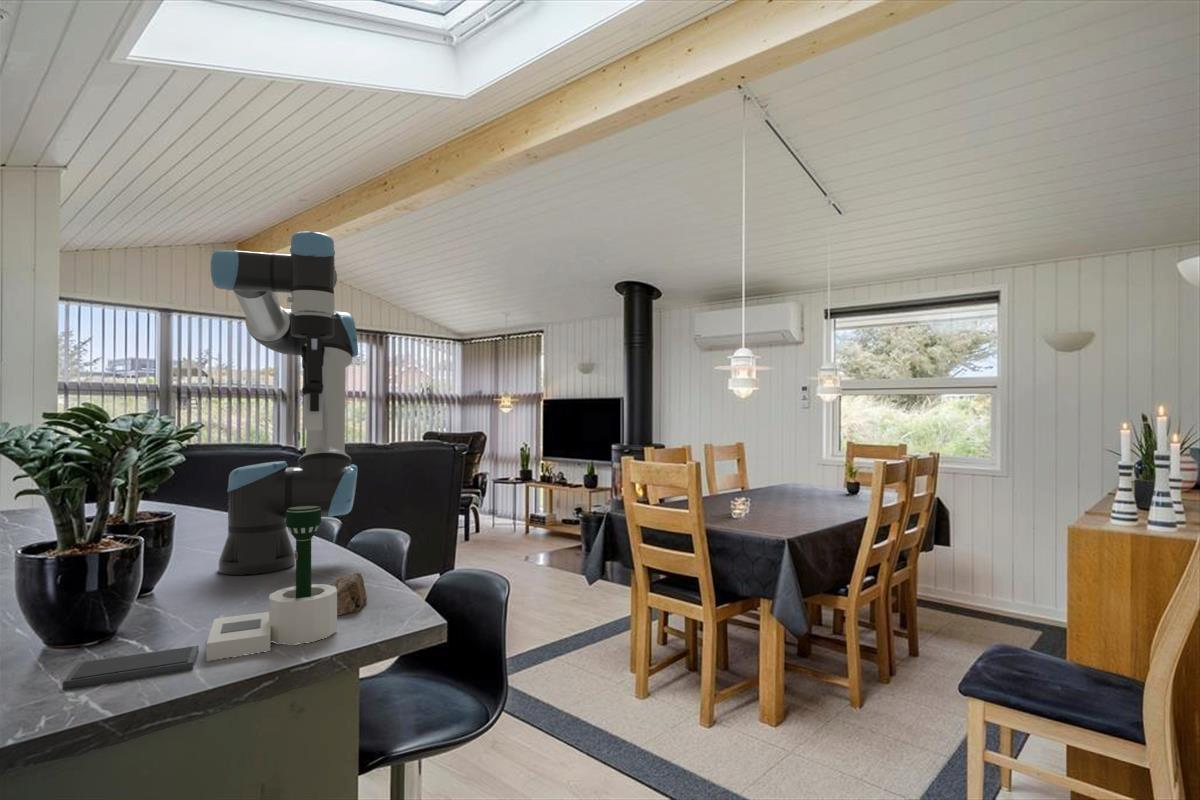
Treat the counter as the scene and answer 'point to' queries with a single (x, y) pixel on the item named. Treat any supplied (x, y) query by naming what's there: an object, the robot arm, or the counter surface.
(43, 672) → the counter surface
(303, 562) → the flashlight
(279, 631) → the block
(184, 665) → the phone
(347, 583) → the rock
